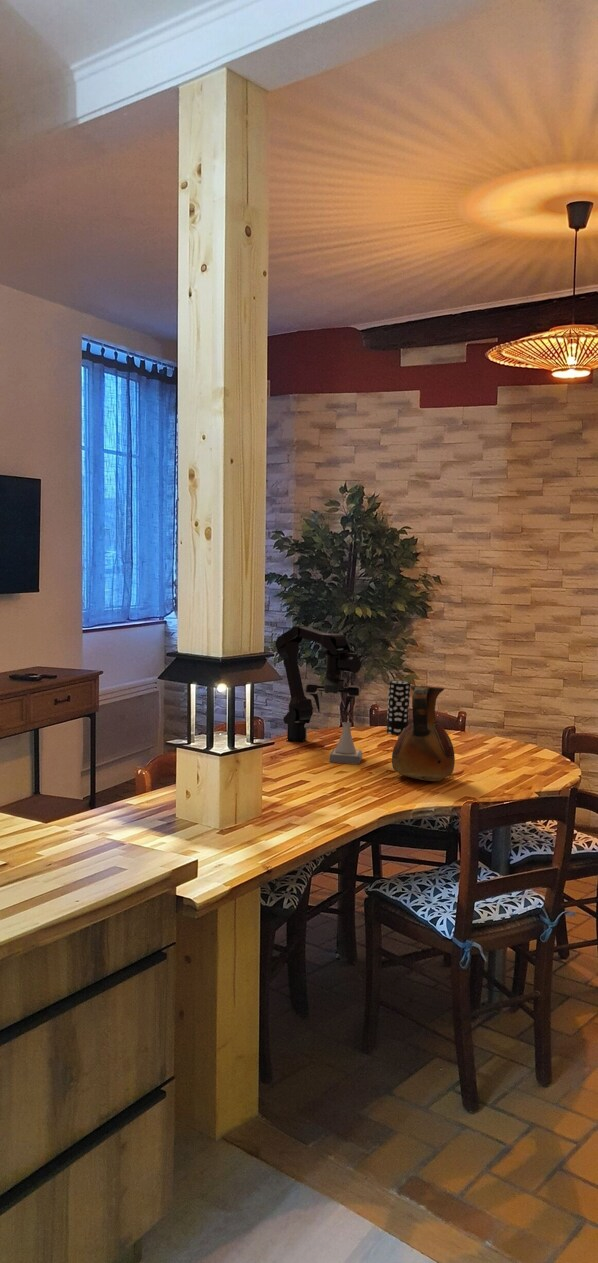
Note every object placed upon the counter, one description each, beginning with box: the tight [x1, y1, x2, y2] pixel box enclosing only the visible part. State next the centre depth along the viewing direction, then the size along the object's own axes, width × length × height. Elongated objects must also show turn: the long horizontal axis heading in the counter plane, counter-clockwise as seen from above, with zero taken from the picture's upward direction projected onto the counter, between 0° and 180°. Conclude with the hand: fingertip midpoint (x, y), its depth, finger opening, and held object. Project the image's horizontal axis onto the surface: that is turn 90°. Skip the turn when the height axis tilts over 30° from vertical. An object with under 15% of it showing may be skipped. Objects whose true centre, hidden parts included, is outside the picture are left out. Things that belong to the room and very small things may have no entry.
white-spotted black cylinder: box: [385, 680, 412, 736], centre depth 363 cm, size 8×8×20 cm
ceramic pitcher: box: [391, 684, 456, 782], centre depth 291 cm, size 20×20×30 cm
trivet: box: [329, 748, 363, 765], centre depth 314 cm, size 10×10×3 cm
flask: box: [335, 721, 357, 754], centre depth 313 cm, size 7×7×10 cm
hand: (332, 713), depth 328 cm, fingers open, 9 cm apart
